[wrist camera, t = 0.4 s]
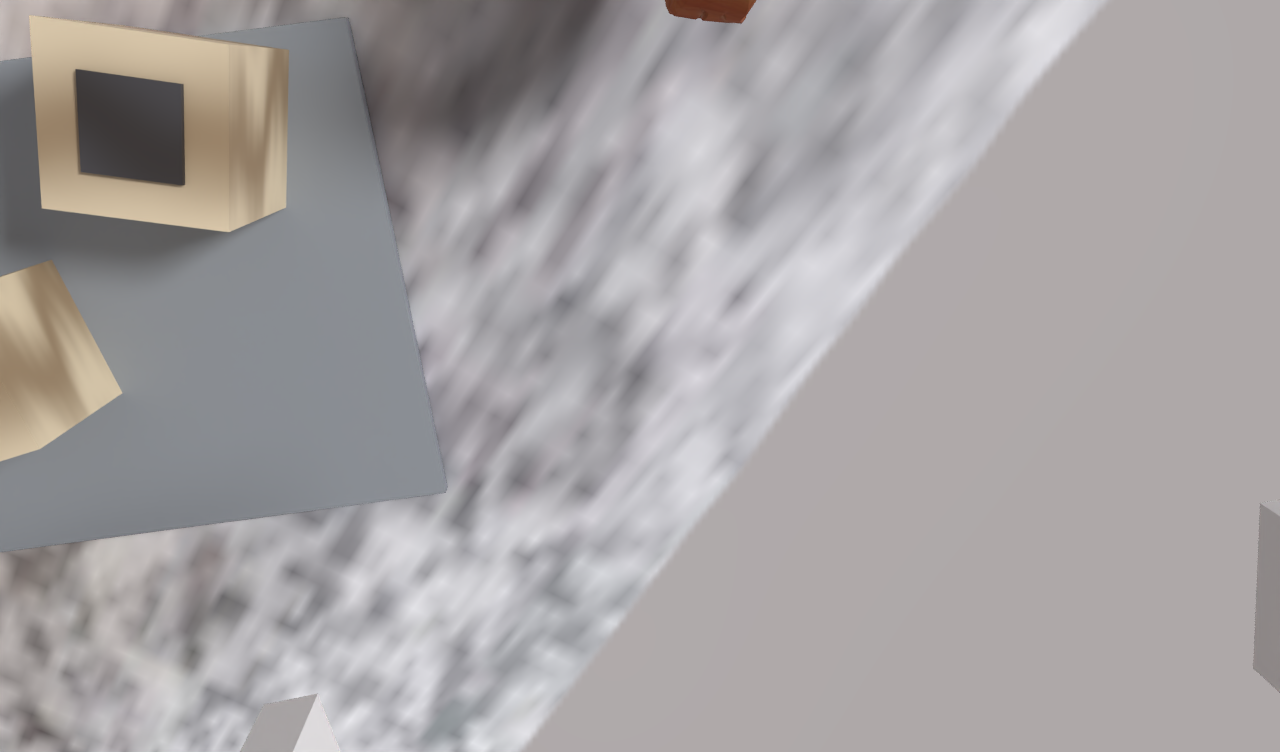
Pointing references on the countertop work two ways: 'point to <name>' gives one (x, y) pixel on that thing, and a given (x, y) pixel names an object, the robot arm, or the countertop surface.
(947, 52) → the countertop surface
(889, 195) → the countertop surface
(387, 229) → the mat
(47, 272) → the plain block
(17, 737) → the countertop surface
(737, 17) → the mug
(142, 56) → the labelled block
